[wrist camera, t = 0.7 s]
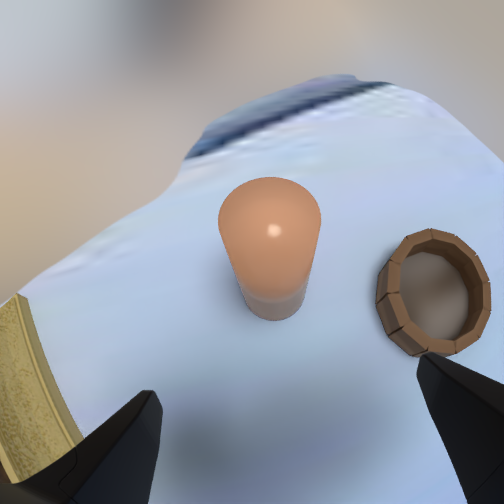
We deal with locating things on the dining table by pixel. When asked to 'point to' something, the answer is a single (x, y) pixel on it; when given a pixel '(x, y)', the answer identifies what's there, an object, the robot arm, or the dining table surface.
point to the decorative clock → (29, 400)
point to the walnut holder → (433, 294)
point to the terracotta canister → (271, 243)
